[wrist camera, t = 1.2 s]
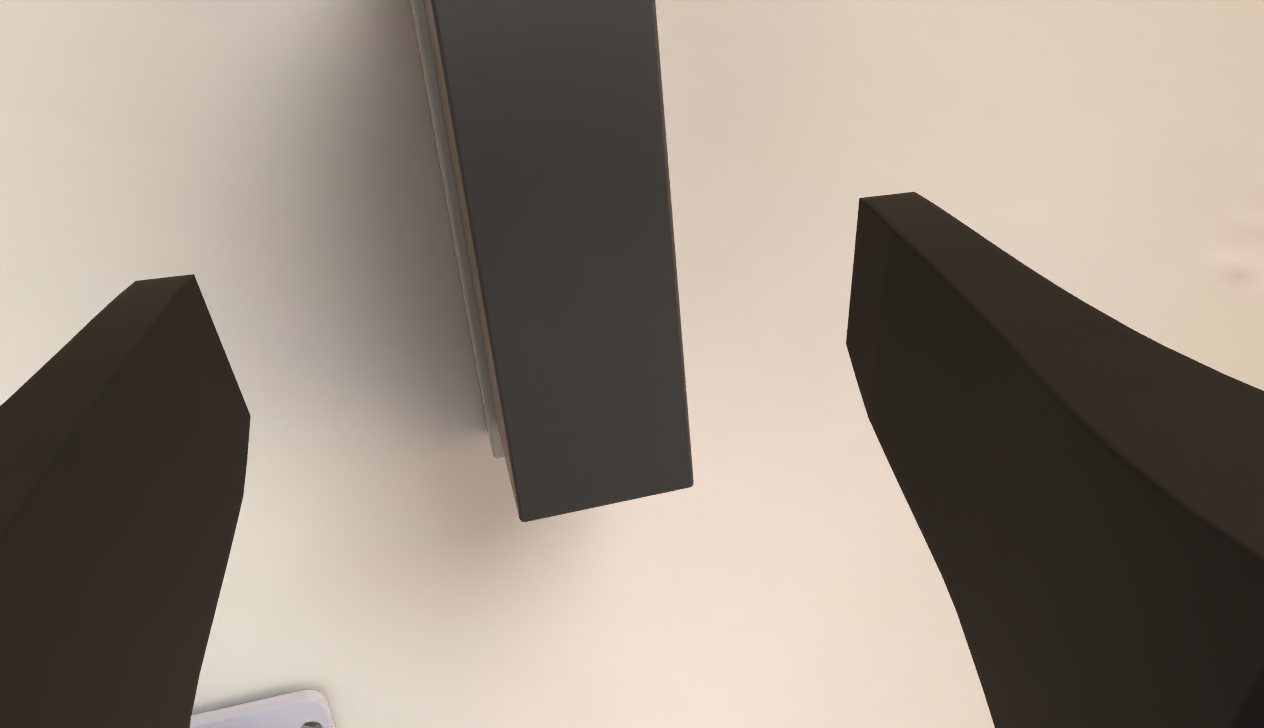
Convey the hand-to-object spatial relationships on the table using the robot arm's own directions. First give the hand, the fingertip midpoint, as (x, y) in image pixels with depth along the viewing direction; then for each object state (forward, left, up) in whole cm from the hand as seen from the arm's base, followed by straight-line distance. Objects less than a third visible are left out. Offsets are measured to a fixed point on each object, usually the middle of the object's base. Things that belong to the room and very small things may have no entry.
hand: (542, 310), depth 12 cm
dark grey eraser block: (-2, -1, -11) cm, 11 cm away
